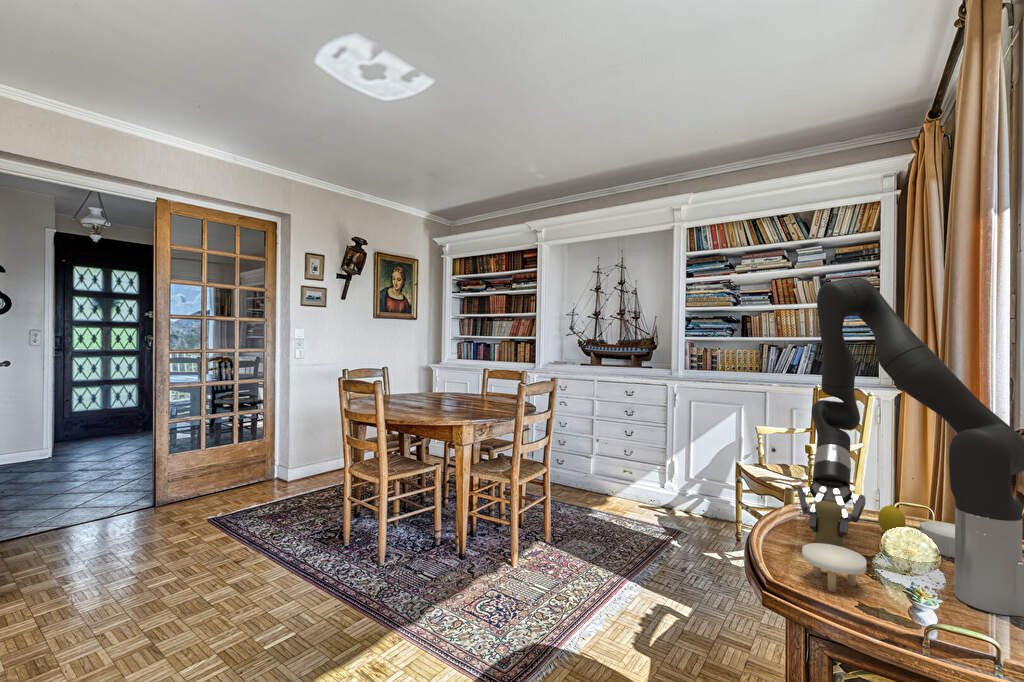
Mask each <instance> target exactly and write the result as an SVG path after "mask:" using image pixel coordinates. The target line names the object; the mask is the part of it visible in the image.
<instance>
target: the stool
mask: <svg viewBox="0 0 1024 682" xmlns="http://www.w3.org/2000/svg"><path fill="white" fill-rule="evenodd" d="M801 549H802V550H801V557H802V559H803V560H804V561H806V562H807V563H808V564H809V565H812V577H814V578H821V574H822V572H821V570H825V571H827V591H828V592H831V593H836V592H837V573H838V574H842V575H847V577H846V578H847V585H848V586H850V587H856V585H857V584H856V583H857V581H856V579H857V575H859V574H863V573H866V572H867V558H865V556H863V555H862V554H860V553H858V552H857V551H854V550H852V549H849V548H846V547H845V546H844V547H840V546H836V545H830V544H822V543H814V542H812V543H807V544H804V545H803V546H802V547H801Z"/></svg>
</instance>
